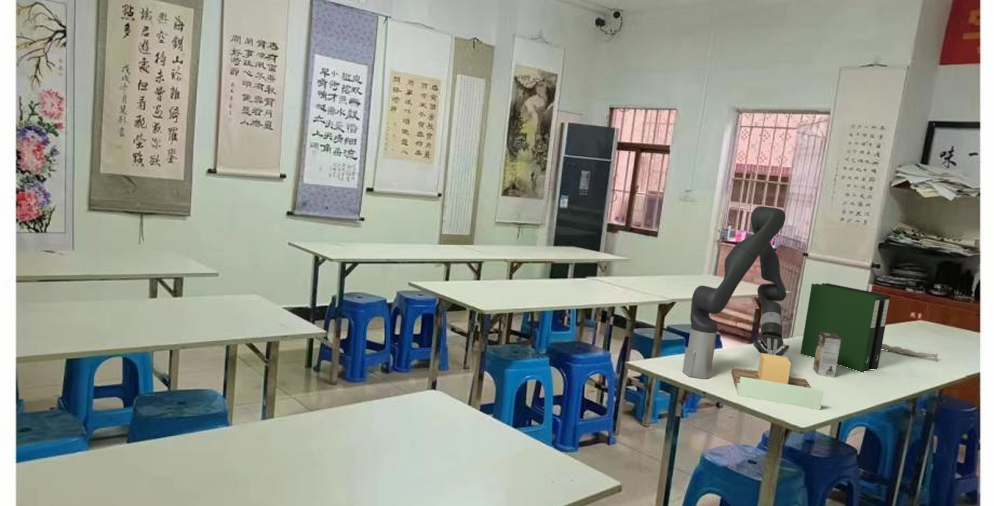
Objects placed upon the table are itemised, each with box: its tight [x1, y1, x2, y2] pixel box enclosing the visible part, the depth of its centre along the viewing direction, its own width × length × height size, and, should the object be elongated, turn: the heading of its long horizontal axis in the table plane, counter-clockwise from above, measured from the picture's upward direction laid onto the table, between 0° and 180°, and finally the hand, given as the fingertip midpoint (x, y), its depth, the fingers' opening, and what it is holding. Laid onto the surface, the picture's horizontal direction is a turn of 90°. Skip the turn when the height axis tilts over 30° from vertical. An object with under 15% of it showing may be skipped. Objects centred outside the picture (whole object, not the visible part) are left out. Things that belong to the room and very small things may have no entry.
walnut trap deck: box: [730, 366, 812, 388], centre depth 236 cm, size 27×26×2 cm
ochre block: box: [757, 353, 792, 384], centre depth 240 cm, size 9×9×8 cm
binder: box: [800, 282, 892, 373], centre depth 287 cm, size 27×15×32 cm, turn 36°
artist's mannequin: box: [881, 343, 939, 362], centre depth 317 cm, size 28×4×30 cm
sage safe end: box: [735, 377, 824, 410], centre depth 225 cm, size 7×26×6 cm, turn 75°
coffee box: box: [812, 332, 841, 378], centre depth 265 cm, size 9×6×16 cm
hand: (771, 365), depth 245 cm, fingers closed
